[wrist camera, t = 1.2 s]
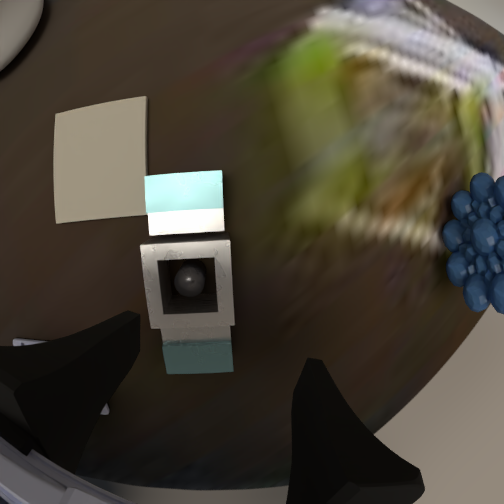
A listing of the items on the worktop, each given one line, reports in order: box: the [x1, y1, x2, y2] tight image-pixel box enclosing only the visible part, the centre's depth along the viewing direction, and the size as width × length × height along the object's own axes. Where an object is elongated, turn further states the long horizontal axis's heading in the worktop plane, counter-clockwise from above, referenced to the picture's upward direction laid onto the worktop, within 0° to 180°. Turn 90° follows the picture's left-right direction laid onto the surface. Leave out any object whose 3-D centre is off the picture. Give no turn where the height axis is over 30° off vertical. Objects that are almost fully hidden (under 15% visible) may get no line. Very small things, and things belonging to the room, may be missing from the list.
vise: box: [144, 171, 233, 374], centre depth 21 cm, size 5×14×3 cm, turn 2°
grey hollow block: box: [140, 232, 235, 329], centre depth 21 cm, size 6×6×4 cm
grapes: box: [442, 173, 504, 314], centre depth 19 cm, size 12×7×12 cm, turn 165°
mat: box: [54, 96, 148, 224], centre depth 20 cm, size 8×9×1 cm
